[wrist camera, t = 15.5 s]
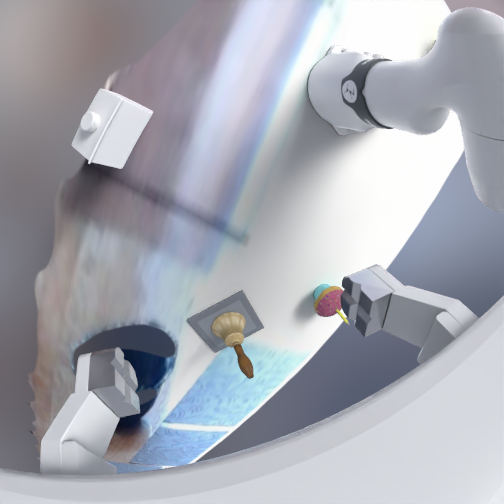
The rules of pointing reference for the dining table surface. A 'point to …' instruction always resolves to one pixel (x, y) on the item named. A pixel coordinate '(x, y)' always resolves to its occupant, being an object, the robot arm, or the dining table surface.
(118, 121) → the milk carton
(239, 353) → the hand bell
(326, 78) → the robot arm
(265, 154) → the dining table surface
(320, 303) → the cupcake
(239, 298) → the plate
